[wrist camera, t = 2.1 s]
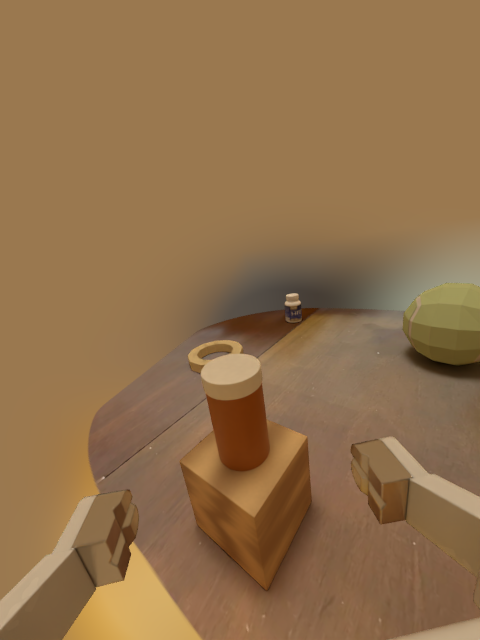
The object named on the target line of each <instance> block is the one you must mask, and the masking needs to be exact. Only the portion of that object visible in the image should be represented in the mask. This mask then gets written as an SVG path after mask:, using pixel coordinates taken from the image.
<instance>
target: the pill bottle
mask: <svg viewBox="0 0 480 640" xmlns="http://www.w3.org/2000/svg"><path fill="white" fill-rule="evenodd" d="M298 297H299V296H298V294H288V295H286V300H287V301H286V302H285V315H286V321H287V322H289V323H296V322H300V321H301V320H302V314H301V302H300V301H299V300H298V299H299V298H298Z"/></svg>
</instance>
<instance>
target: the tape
mask: <svg viewBox="0 0 480 640" xmlns="http://www.w3.org/2000/svg"><path fill="white" fill-rule="evenodd" d="M215 352H229V353H230V354H243V348H242V346H241V345H240V344H239V343H238V342H234V341H230V340H221V341H213V342H209V343H206V344H202V345H200V346H198V347H197V348H195V349H193V350H192V351H191V352H190V354H189V355H188V360H189V364H190V367H191V369H192V371H195V372H198V373H201V370H202V368H203V367H204V366H205V365H206V364H207V363H208V362H210V361H211V360H203V359H201V358H203V357H204V356H206V355H208V354H211V353H215ZM228 355H229V354H228Z"/></svg>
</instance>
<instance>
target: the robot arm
mask: <svg viewBox="0 0 480 640" xmlns="http://www.w3.org/2000/svg"><path fill="white" fill-rule="evenodd" d="M351 454H352V455H353V457H354V458H353V460H352V461H351V470H352V473H353V477H354V479H355V482H356V484H357V486H358V487H359V489H360V491H361V492H363V493H364V494H366V495H367V496H368V505H369V506H370V508H371V510H372V511H373V513H374V515H375V516H376V518H377V520H378V521H379V523H380V525H381V524H387V523H392V522H398V521H403V520H406V522H407V523H408V524H410V525H411V526H412V527H413V528H415V529H416V530H417V531H418V532H420V533H421V534H422V535H424V536H425V537H426V538H427V539H429V540H430V541H431V542H432V543H434V544H435V545H436V546H437V547H439V548H440V549H441V550H443V551H444V552H445V553H446V554H448V555H449V556H450V557H451V558H453V559H454V560H455V561H456V562H458V563H459V564H460V565H462V566H463V567H464V568H465V569H467V570H468V571H469V572H470V573H472V574H473V575H474V576H475V577H477V580H476V584H475V589H474V593H473V601H474V603H475V604H476V605H477V607H478V608H479V610H480V497H479V496H477V495H475V494H473V493H471V492H469V491H467V490H465V489H463V488H461V487H459V486H457V485H455V484H453V483H451V482H449V481H447V480H445V479H443V478H441V477H439V476H437V475H435V474H429V473H428V472H427V471H426V470H425V469H424V468H423V467H422V466H421V465H420V464H419V463H418V462H417V461H416V460H415V459H414V457H413V456H412V455H411V454H410V453H409V452H408V451H407V450H406V449H405V448H404V447H403V446H402V445H401V444H400V443H399V442H398V441H397V439H396V438H394V437H392V436H391V437H386V438H381V439H375V440H370V441H365V442H361V443H356V444H352V446H351ZM131 500H132V494H131V492H130V490H122V491H116V492H110V493H104V494H98V495H94V496H88V497H84V498H83V499H82V500H81V501H80V502H79V503H78V505H77V507H76V509H75V511H74V513H73V515H72V516H71V519H70V520H69V523H68V524H67V526H66V528H65V530H64V532H63V533H62V535H61V537H60V539H59V541H58V543H57V545H56V547H55V549H54V550H53V552H52V553H51V554H47V555H46V556H45V557H44V558H43V559H42V560H41V561H40V562H39V563H38V564H37V565H36V566H35V567H34V568H33V569H32V570H31V571H30V572H29V573H28V574H27V575H26V576H25V577H24V578H23V579H22V580H21V581H20V582H19V583H18V584H17V585H16V586H15V587H14V588H13V589H12V590H11V591H10V592H9V593H8V594H7V595H6V596H5V597H4V598H3V599H2V600H1V601H0V640H62V639H63V637H64V636H65V635H66V633H67V632H68V630H69V629H70V627H71V626H72V624H73V623H74V621H75V620H76V618H77V617H78V615H79V614H80V612H81V611H82V609H83V608H84V606H85V605H86V603H87V602H88V601H89V599H90V598H91V596H92V595H93V593H94V592H95V590H96V588H95V587H99V586H103V585H106V584H111V583H115V582H119V581H123V580H124V578H125V575H126V570H127V567H128V563H129V560H130V556H131V553H130V550H129V546H130V545H131V543H132V542H133V541H134V539H135V538H136V534H137V530H138V522H139V515H138V509H137V507H136V505H135V504H133V503H131ZM388 640H480V617H479V618H475V619H471V620H467V621H462V622H458V623H454V624H450V625H446V626H442V627H437V628H433V629H429V630H425V631H421V632H417V633H413V634H408V635H404V636H400V637H396V638H392V639H388Z"/></svg>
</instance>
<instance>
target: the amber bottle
mask: <svg viewBox="0 0 480 640" xmlns="http://www.w3.org/2000/svg"><path fill="white" fill-rule="evenodd" d="M201 379H202V383H203V388H204V391H205V393H206V396H207V401H208V406H209V411H210V415H211V420H212V425H213V429H214V434H215V439H216V444H217V448H218V453H219V457H220V460H221V462H222V463H223V464H224V465H225V466H226V467H228V468H229V469H232V470H235V471H248V470H252V469H255V468H256V467H258V466H260V465H261V464H262V463H263V462H264V461H265V460H266V458H267V457H268V454H269V451H270V444H269V436H268V428H267V420H266V412H265V404H264V397H263V389H262V372H261V364H260V362H259V360H258V359H257V358H255V357H254V356H251V355H247V354H229V355H224V356H221V357H218V358H215V359H213V360H211V361H210V362H208V363H207V364H206V365H205V366H204V367H203V368H202V370H201Z"/></svg>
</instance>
